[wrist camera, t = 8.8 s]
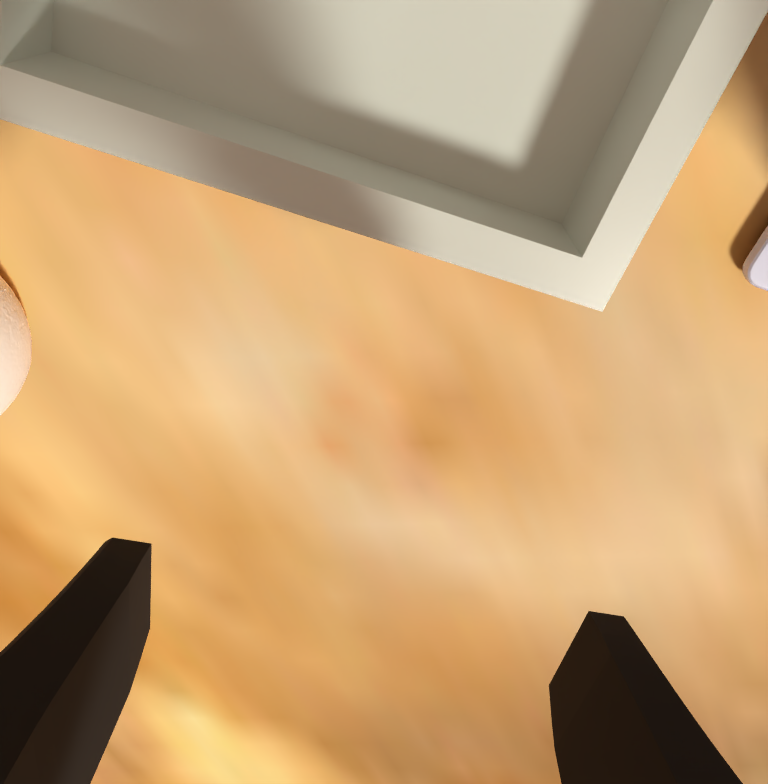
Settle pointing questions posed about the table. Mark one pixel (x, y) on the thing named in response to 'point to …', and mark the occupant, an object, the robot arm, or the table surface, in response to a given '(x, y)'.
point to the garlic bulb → (12, 346)
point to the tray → (399, 113)
